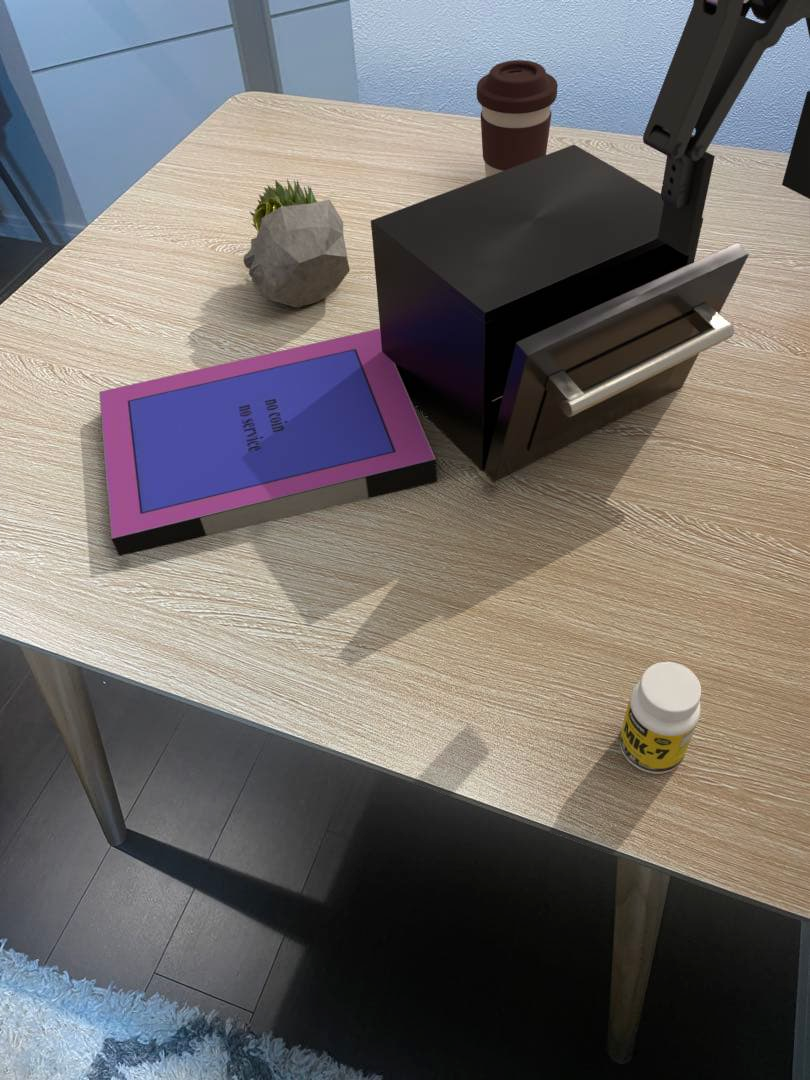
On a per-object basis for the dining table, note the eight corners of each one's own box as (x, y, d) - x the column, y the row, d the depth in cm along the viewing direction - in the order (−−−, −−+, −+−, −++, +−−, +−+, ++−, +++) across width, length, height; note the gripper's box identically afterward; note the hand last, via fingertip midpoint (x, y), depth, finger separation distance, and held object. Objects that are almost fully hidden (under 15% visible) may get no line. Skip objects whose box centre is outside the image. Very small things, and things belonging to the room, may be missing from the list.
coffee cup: (535, 211, 118) (542, 92, 107) (464, 198, 121) (464, 81, 110) (560, 176, 124) (569, 59, 113) (492, 164, 127) (494, 50, 116)
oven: (670, 377, 95) (703, 218, 82) (482, 471, 87) (484, 312, 74) (560, 297, 105) (574, 144, 92) (383, 375, 98) (370, 220, 84)
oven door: (707, 412, 93) (780, 281, 77) (516, 512, 85) (557, 388, 70) (672, 376, 95) (737, 242, 79) (483, 471, 87) (515, 342, 72)
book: (99, 391, 94) (379, 328, 98) (108, 413, 97) (382, 350, 100) (111, 538, 81) (435, 459, 84) (121, 560, 83) (437, 481, 87)
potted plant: (244, 311, 101) (194, 220, 107) (324, 334, 111) (274, 249, 117) (309, 228, 95) (252, 136, 101) (387, 260, 105) (331, 175, 111)
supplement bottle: (606, 750, 68) (620, 689, 61) (640, 707, 70) (657, 644, 63) (664, 788, 65) (685, 729, 59) (697, 742, 68) (720, 680, 61)
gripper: (925, -230, 52) (815, 147, 69) (609, -153, 45) (570, 250, 61) (1049, -211, 48) (900, 186, 64) (722, -122, 40) (648, 302, 57)
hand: (739, 217), depth 63 cm, fingers open, 11 cm apart
